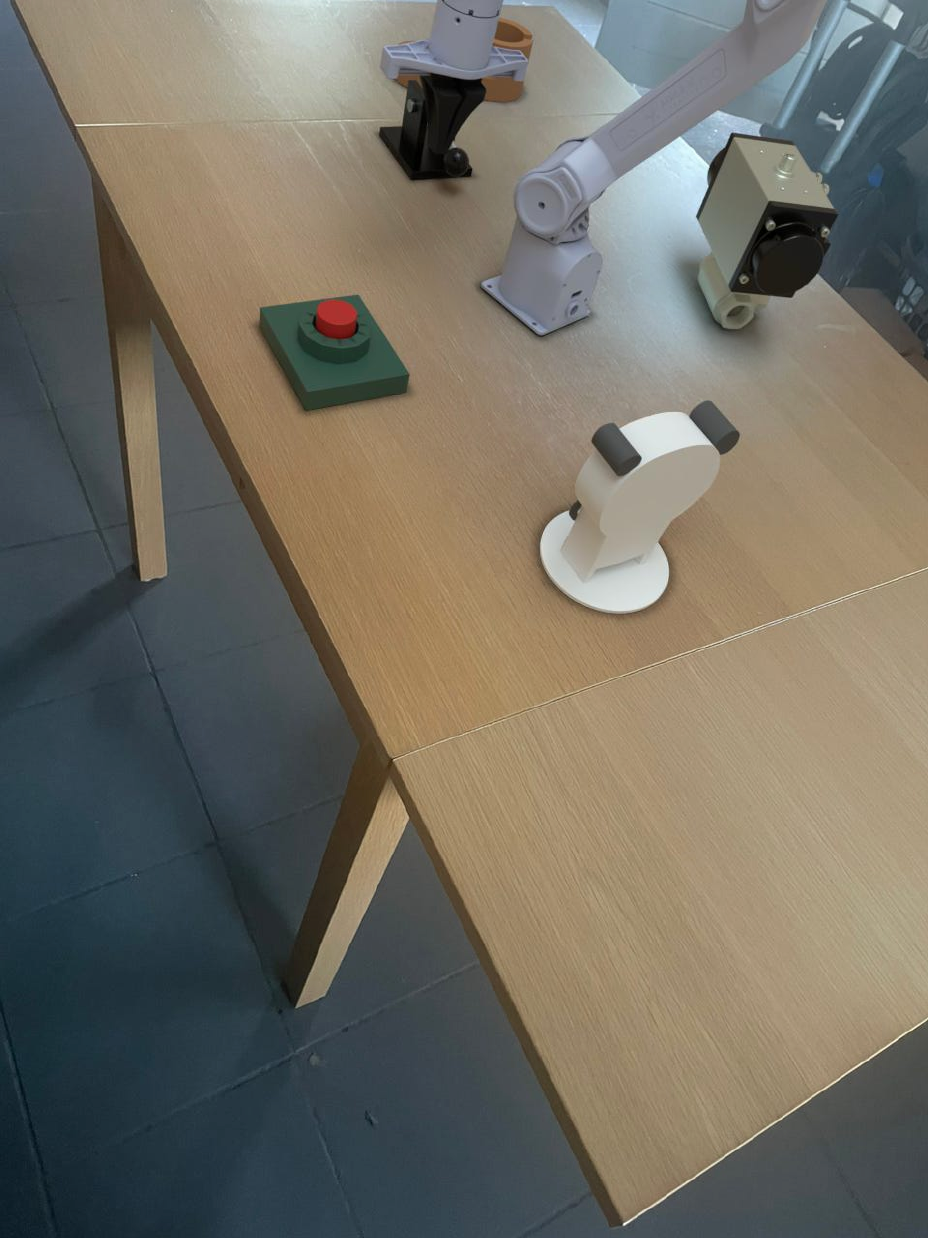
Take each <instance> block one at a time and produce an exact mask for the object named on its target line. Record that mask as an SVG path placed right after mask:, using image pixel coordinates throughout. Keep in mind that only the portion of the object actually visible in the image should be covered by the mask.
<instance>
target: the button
mask: <svg viewBox="0 0 928 1238" xmlns="http://www.w3.org/2000/svg"><path fill="white" fill-rule="evenodd" d="M356 320H357V312H356V310H355V308H354V307H353V306H352V305H350V304H349V303H347V302H344V301H341V300H326V301H323V302H322V303H320V304H319V305H318V307H317V313H316V329H317V331H318V332H319V333H321V334H322V335H324V336H326V337H329V338H334V339H339V340H340V339H346V338H350V337H352V336H353V335H354V333H355V328H356Z"/></svg>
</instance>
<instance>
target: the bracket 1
mask: <svg viewBox="0 0 928 1238" xmlns="http://www.w3.org/2000/svg"><path fill="white" fill-rule="evenodd" d="M416 41H417V40H405V41H402V42H399V43H397V45H401V44H406V43H411V42H416ZM533 44H534V39H533V34H532V32H531V31H530V30H529V29H528V28H526V27H525V26H523V25H521V24H520V23H518V22H516V21H513V20H510V19H508V18H502V17H499V20H498V24H497V28H496V32H495V36H494V40H493V44H492V46H494V47H499V48H503V49H509V50H520V51H521V52H522V54H523V55H524V56H525V57H526V58H527V60H528V61H529V62H530V57H531V52H532V49H533ZM524 79H526V76H525V77H524ZM394 80H395V81H396V82H397V83H398V84H399V85H401V86H403V87H404V88H407V87H408V80H416V81H417V82H418V83H419V84H420V86H421V87H422V83H421V79H420V76H417V75H398V78H397V79H394ZM481 83H482V84H483V85H484V87H485V88H486V95H485V98H484V101H489V102H498V103H509V102H513V101H516V100H518V99H519V98H520V97H521V94H522V91H523V86H524V83H525V80H524V81H514V80H513V79H512V77H484V78H482V81H481ZM422 88H423V87H422Z"/></svg>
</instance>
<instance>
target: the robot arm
mask: <svg viewBox="0 0 928 1238" xmlns="http://www.w3.org/2000/svg"><path fill="white" fill-rule="evenodd" d="M827 3H828V0H746V3H745V10H744V14H743V20H742V21H740V22H739V23H738V24H737V25H736V26H734V27H733V28H731V29H730V30H729V31H727V32H726V33H725V34H724V35H722V36H721V37H720V38H719V39H717V40H715V41H714V42H713V43H711V44H710V45H709V46H707V47H706V48H705V49H703V50H702V51H701V52H700V53H698V54H697V55H695V56H694V57H693V58H691V59H690V60H688V61H687V62H686V63H685V64H684V65H682V66H681V67H680V68H678V69H677V70H676V71H674V72H673V73H672V74H670V75H669V76H668V77H666V78H665V79H664V80H663V81H661V82H660V83H658V84H657V85H656V86H654V87H653V88H652V89H650V90H649V91H648V92H646V93H645V94H643V95H642V96H641V97H639V98H638V99H637V100H636V101H634V102H633V103H632V104H630V105H629V106H628V107H626V108H625V109H623V111H621V112H620V113H618V114H617V115H616V116H615V117H613V118H612V119H610V120H609V121H608V122H606V123H604V124H603V125H601V126H599V127H598V128H597V129H595V131H593V132H591V133H589V134H587V135H585V136H584V135H583V136H574V137H570V138H567V139H566V140H564V141H563V142H561V143H560V144H559V145H558V146H557V147H556V149H555V150H554V151H553V152H552V153H551V154H550V155H548V156H547V157H546V158H545V159H543V161H541V162H540V163H539V164H538V165H536V166H535V167H534V168H531V169H530V170H528V171H527V172H525V173H524V174H522V176H520V178H519V179H518V181H517V182H516V184H515V187H514V190H513V208H514V212H515V214H516V217H515V222H514V225H513V229H512V232H511V237H510V241H509V244H508V249H507V251H506V257H505V260H504V264H503V268H502V271H501V274H499V275H496V276H494V277H491V278H489V279H486V280H483V281H481V283H480V287H481V289H483V290H484V291H485V292H486V293H488V294H489V295H490V296H491V297H492V298H493V299H495V300H496V301H497V302H499V303H500V304H501V305H502V306H503V307H504V308H506V309H507V310H508V311H509V312H510V313H511V314H513V316H515V317H516V318H517V319H519V321H521V322H522V323H523V324H525V326H527V327H528V328H530V329H531V331H533V332H534V333H535V334H537V336H545V335H546V334H549V333H551V332H553V331H556V330H558V329H561V328H563V327H565V326H568V325H569V324H572V323H574V322H577V321H578V320H581V319H584V318H586V317H588V316H590V314H591V310H590V308H589V306H590V303H591V299H592V297H593V294H594V292H595V288H596V286H597V283H598V280H599V277H600V274H601V271H602V268H603V255H602V254H601V253H600V251H598V249H597V248H596V247H595V245H594V244H593V242H592V240H591V238H590V235H589V232H588V230H589V227H590V207H591V205H592V204H593V203H595V202H596V201H597V200H598V199H600V198H601V197H602V196H603V195H604V193H605V192H606V191H607V188H609V187H610V186H611V185H613V184H614V183H615V182H616V181H618V180H619V179H620V178H622V177H623V176H625V175H626V174H627V173H629V172H630V171H632V170H634V169H635V168H636V167H638V166H639V165H641V164H642V163H643V162H645V161H647V160H648V159H649V158H651V157H652V156H653V155H655V154H656V153H658V152H659V151H661V150H663V149H664V148H665V147H667V146H668V145H670V144H671V143H672V142H674V141H676V140H677V139H678V138H680V137H682V136H683V135H684V134H686V133H687V132H689V131H690V130H692V129H693V128H694V127H696V126H697V125H699V124H700V123H702V122H703V121H704V120H706V119H708V118H709V117H710V116H712V115H713V114H715V113H716V112H718V111H719V110H720V109H722V108H723V107H725V106H727V105H728V104H730V103H731V102H732V101H734V100H735V99H737V98H739V97H740V96H741V95H743V94H744V93H745V92H747V91H748V90H750V89H752V88H753V87H755V85H757V84H759V83H760V82H762V81H763V80H764V79H766V78H767V77H768V76H770V75H772V74H773V73H775V72H776V71H777V70H779V69H780V68H782V67H784V66H785V65H787V64H788V63H789V62H790V61H791V60H792V59H793V58H794V57H796V55H797V54H798V53H800V51H801V50H802V49H803V47H805V45H806V44H807V42H808V40H809V39H810V37H811V34H812V33H813V31H814V29H815V27H816V24H817V23H818V21H819V18H820V16H821V15H822V13H823V10H824V8H825V6H826V4H827ZM503 4H504V0H436V4H435V10H434V14H433V20H432V25H431V30H430V35H429V38H425V39H421V40H415V41H416V42H411V43H406V44H401V45H398V44H395V45H394V44H393V45H383V46H382V50H381V56H380V62H379V68H380V70H381V72H382V73H383V74H384V76H385V77H386V78H387V79H388V80H395V79H397V78H398V75H417V76H420V79H421V83H422V87H423V92H424V97H425V102H426V110H427V125H428V142H427V144H428V145H429V147H430V148H431V150H432V151H433V152H434V154H436V155H438V154H447V152H448V150H449V148H450V146H451V145H452V143H453V141H454V139H455V140H456V138H457V136H458V133H459V132H460V130H461V129H462V127H463V125H464V124H465V122H466V121H467V120H468V118H469V117H470V115H471V114H472V113H473V112H475V110H476V109H477V108H478V107H479V106H480V105H481V104H482V103H483V102H484V101H485V100H484V98H485V95H486V88H485V87H484V85H483V84H482V83H481V81H482V78H484V77H512V79H513V80H514V81H524V82H525V78H526V73H527V70H528V66H529V63H530V60H529V61H528V60H527V58H526V57H525V56H524V55H523V54H522V52H521V51H520V50H509V49H503V48H499V47H494V46H492V44H493V40H494V36H495V32H496V28H497V24H498V20H499V18H500V17H501V12H502V7H503ZM524 77H525V78H524Z"/></svg>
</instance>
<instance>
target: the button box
mask: <svg viewBox="0 0 928 1238" xmlns="http://www.w3.org/2000/svg"><path fill="white" fill-rule="evenodd" d="M326 300H341V301H344V302H347V303H349V304H350V305H352V306H353V307H354V308H355V310H356V312H357V320H356V328H355V333H354V335H353V336H352V337H350V338H346V339H340V340H339V339H334V338H329V337H326V336H324V335H322V334H321V333H319V332H318V331H317V329H316V313H317V307H318V305H319V304H320V303H322V302H323V301H326ZM259 329H260V330H261V332H262V334H263V336H264V338H265V339H266V342H267V343H268V345H269V347H270V349H271V350H272V352H273V354H274V356H275V357H276V359H277V361H278V363H279V365H280V367H281V369H282V370H283V372H284V374H285V376H286V377H287V379H288V382H289V383H290V385H291V387H292V389H293V390H294V392H295V394H296V396H297V397H298V399H299V402H300V403H301V405H302V407H303V408H304V411H312V410H317V409H322V408H328V407H333V406H334V407H335V406H339V405H344V404H345V405H346V404H350V403H355V402H362V401H367V400H371V399H372V400H373V399H377V398H383V397H389V396H394V395H401V394H405V393H407V391H408V385H409V381H410V373H409V371H408V368H407V367H406V366H405V365H404V363H403V361H402V360H401V358H400V357H399V355H398V353H397V352H396V351H395V349H394V347H393V345H392V344H391V342H390V341H389V340H388V338H387V336H386V335H385V334H384V332H383V330H382V328H381V327H380V326H379V324H378V323H377V321H376V319H375V318H374V316H373V315H372V313H371V312H370V310H369V309H368V307H367V306H366V304H365V302H364V301H363V299H362V298H361V296H360V295H359V294H351V295H343V296H337V297H329V298H327V297H326V298H321V299H320V298H319V299H313V300H305V301H297V302H290V303H283V304H276V305H268V306H260V307H259Z"/></svg>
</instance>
